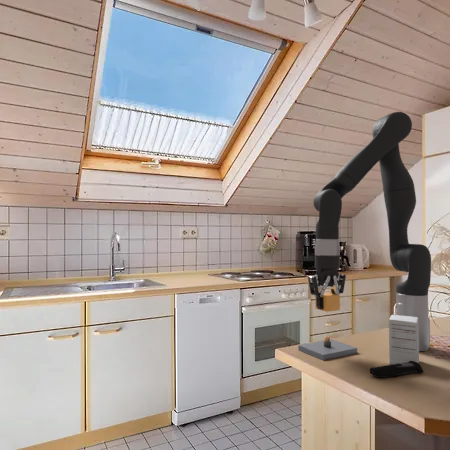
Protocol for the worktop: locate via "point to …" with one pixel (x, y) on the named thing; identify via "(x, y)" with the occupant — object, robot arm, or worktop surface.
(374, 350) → the worktop surface
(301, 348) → the plate
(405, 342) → the supplement box
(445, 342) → the worktop surface
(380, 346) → the worktop surface
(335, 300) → the orange rounded cube
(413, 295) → the robot arm
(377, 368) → the electric trimmer
